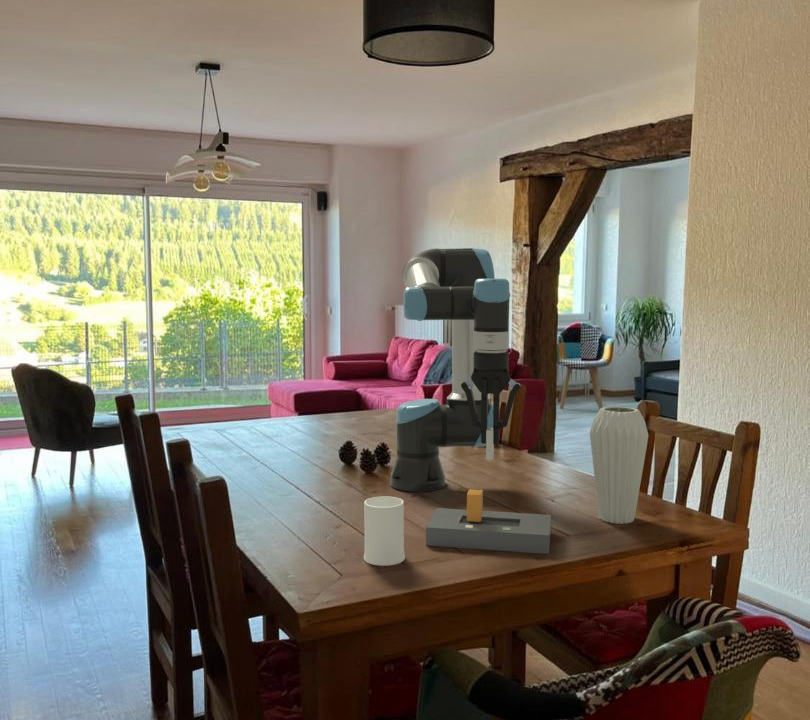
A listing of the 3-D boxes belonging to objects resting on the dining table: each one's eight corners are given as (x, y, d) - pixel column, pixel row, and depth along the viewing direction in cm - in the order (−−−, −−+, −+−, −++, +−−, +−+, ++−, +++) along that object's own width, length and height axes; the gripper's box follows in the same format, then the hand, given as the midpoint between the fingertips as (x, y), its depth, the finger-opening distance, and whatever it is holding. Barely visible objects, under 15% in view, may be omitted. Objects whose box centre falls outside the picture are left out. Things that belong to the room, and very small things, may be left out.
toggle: (466, 521, 172) (466, 494, 172) (469, 515, 176) (469, 489, 176) (480, 521, 172) (480, 495, 171) (482, 516, 176) (482, 490, 175)
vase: (636, 531, 178) (640, 416, 175) (579, 521, 185) (582, 411, 182) (652, 515, 190) (655, 407, 187) (598, 507, 197) (600, 402, 194)
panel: (426, 545, 170) (426, 526, 169) (436, 524, 183) (437, 507, 183) (548, 553, 164) (549, 534, 164) (550, 532, 178) (551, 514, 178)
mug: (351, 550, 167) (350, 494, 166) (387, 543, 171) (387, 489, 169) (373, 568, 157) (373, 510, 155) (412, 561, 160) (412, 504, 159)
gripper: (458, 352, 167) (458, 461, 170) (521, 353, 164) (519, 463, 167) (462, 348, 174) (462, 452, 177) (522, 349, 172) (520, 455, 175)
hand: (489, 458), depth 172 cm, fingers closed
